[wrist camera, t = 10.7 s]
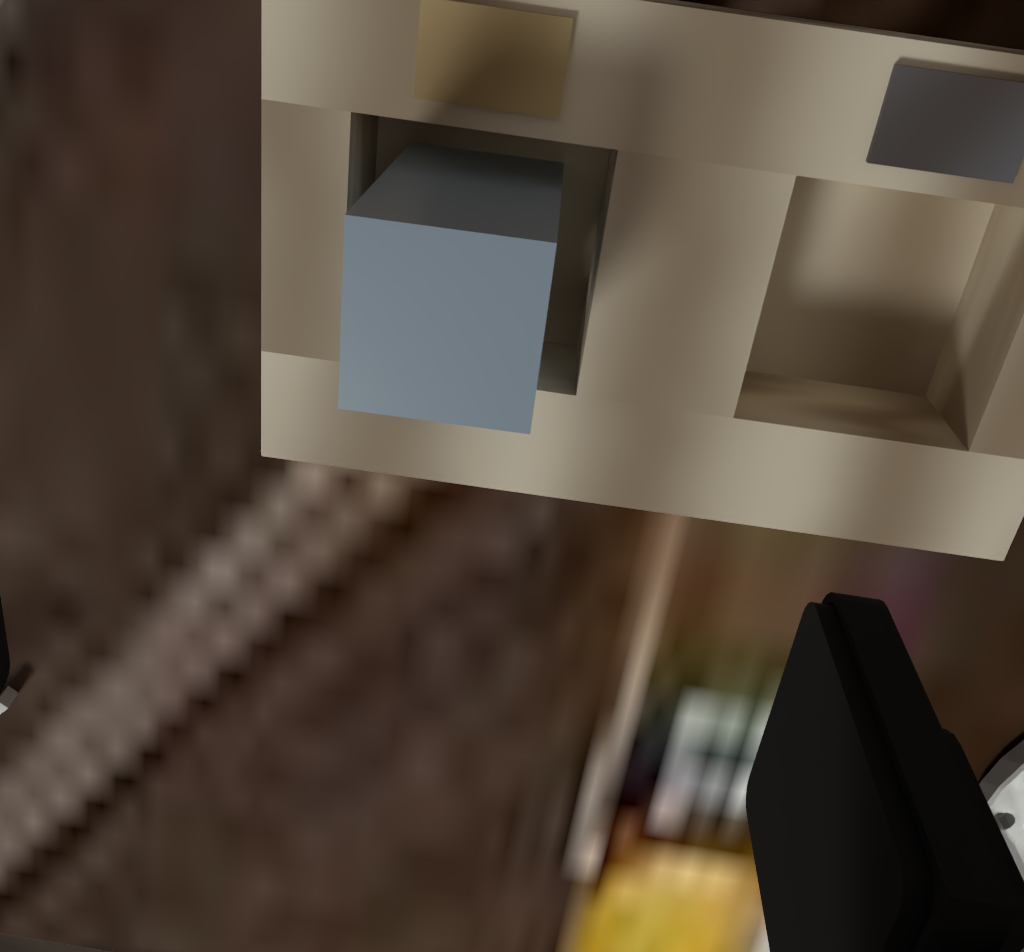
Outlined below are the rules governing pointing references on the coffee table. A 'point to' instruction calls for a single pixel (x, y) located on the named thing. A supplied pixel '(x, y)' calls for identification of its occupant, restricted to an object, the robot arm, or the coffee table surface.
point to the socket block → (683, 256)
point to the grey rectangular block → (449, 287)
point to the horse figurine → (7, 698)
